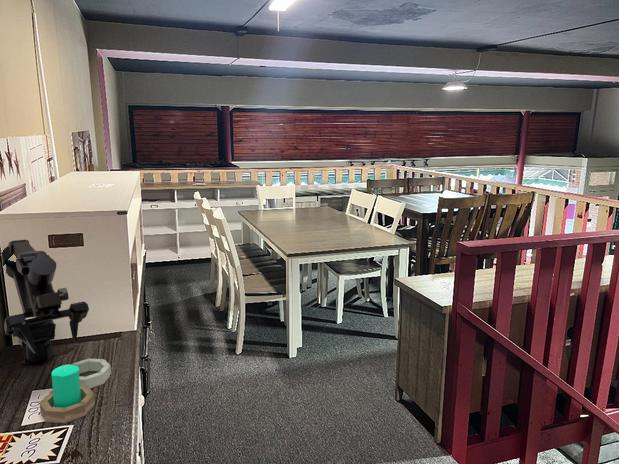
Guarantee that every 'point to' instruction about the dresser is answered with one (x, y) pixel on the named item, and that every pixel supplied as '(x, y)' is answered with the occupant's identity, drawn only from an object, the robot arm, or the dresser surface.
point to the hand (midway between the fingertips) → (55, 347)
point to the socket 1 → (70, 412)
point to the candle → (66, 386)
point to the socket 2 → (93, 365)
